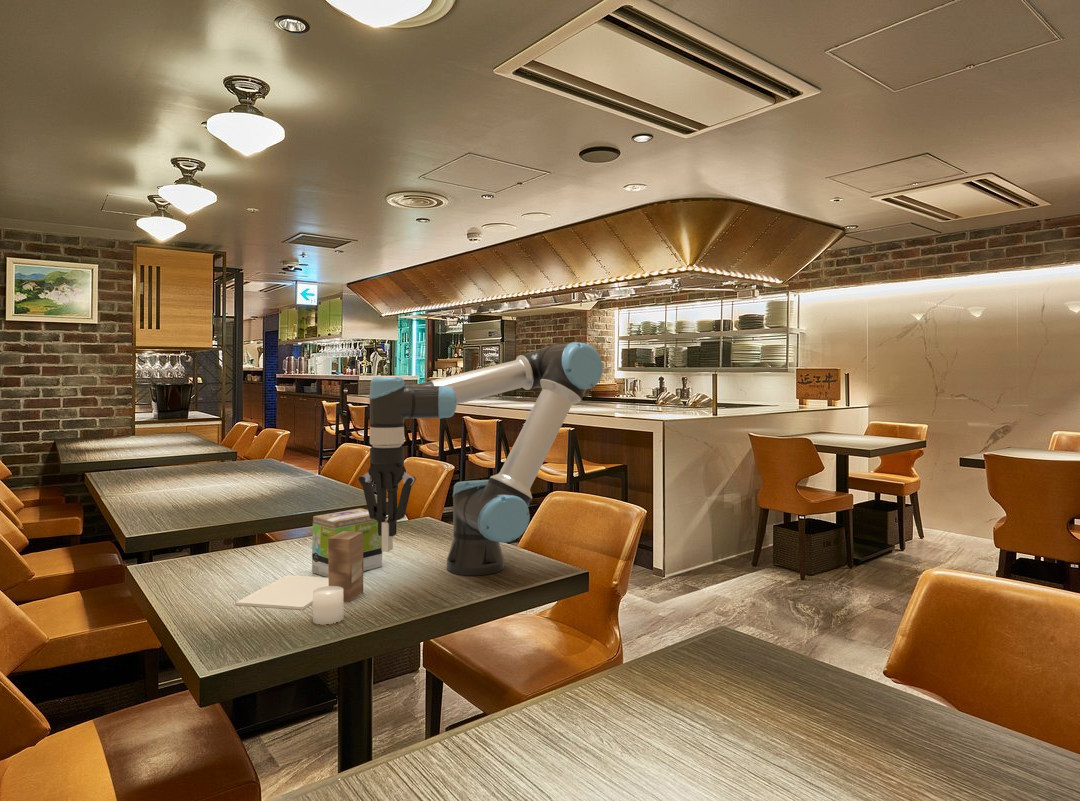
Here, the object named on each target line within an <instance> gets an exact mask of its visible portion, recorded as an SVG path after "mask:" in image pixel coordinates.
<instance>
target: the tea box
mask: <svg viewBox="0 0 1080 801" xmlns="http://www.w3.org/2000/svg"><path fill="white" fill-rule="evenodd" d="M343 531H348V532H363V572H365V571H369V570H374V569H378V568H382V566H383V552H382V536H379V535H378V521H377V520H375V519H371V518H370V517H369V512H368V509H365V508H360V507H359V508H355V509H348V510H344V511H337V512H331V513H324V514H320V515H319V514H318V515H314V516H313V517H312V535H311V536H312V537H311V538H312V542H311V543H312V544H311V573H314V574H316V575H319V576H321V577H325V578H329V572H328V538H330V537H332V536H334V535H336V534H338V533H340V532H343Z"/></svg>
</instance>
